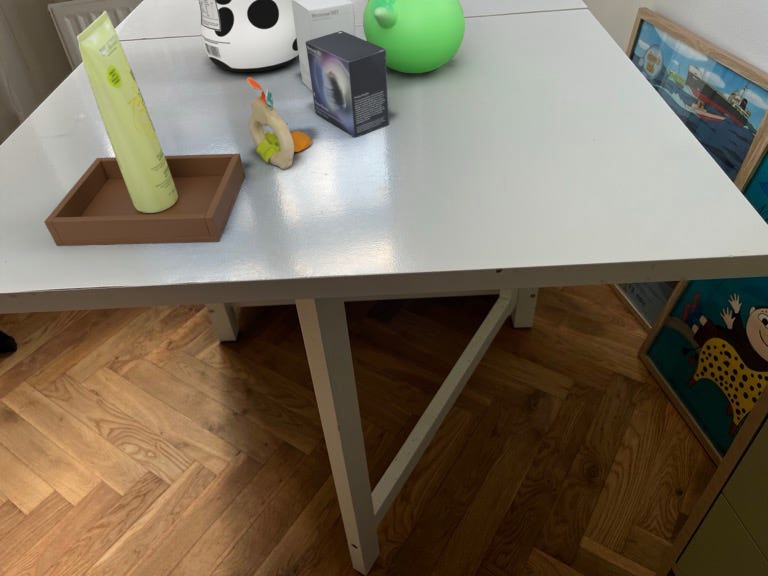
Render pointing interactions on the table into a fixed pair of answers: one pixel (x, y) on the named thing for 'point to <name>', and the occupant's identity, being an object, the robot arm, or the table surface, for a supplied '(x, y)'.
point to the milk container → (248, 33)
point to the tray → (129, 226)
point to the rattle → (276, 144)
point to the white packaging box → (319, 25)
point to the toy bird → (415, 32)
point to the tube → (126, 118)
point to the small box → (349, 82)
